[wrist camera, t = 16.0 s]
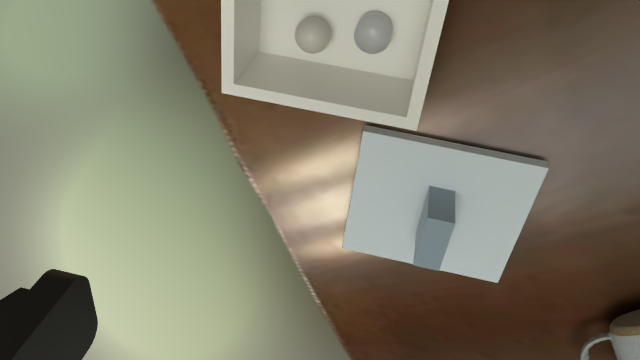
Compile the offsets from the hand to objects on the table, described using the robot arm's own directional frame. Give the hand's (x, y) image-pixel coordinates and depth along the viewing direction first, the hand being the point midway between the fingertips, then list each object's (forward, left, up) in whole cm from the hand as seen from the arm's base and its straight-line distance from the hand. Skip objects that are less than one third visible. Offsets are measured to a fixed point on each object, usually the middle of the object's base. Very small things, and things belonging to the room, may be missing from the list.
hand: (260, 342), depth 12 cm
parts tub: (+4, +4, -38) cm, 39 cm away
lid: (-8, +23, -37) cm, 45 cm away
